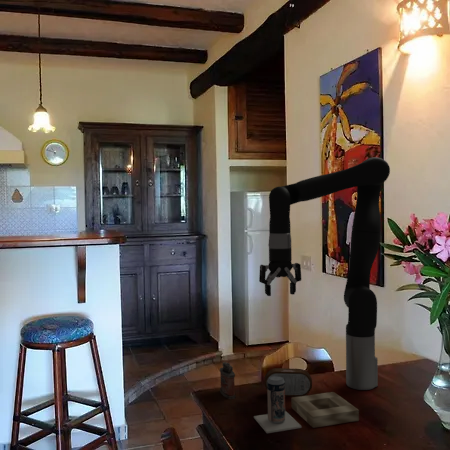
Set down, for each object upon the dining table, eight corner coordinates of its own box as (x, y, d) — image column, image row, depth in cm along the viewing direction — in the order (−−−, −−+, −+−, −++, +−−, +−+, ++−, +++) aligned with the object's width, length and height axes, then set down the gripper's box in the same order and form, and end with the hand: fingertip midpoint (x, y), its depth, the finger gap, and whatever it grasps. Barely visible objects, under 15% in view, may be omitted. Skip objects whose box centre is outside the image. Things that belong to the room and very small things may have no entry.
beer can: (273, 426, 132) (273, 382, 132) (264, 419, 137) (263, 376, 136) (288, 422, 135) (288, 379, 134) (278, 415, 139) (278, 373, 138)
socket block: (333, 401, 149) (333, 391, 149) (358, 420, 136) (358, 409, 136) (291, 407, 145) (291, 397, 145) (313, 427, 132) (313, 416, 132)
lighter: (217, 390, 159) (217, 360, 159) (227, 389, 161) (226, 359, 160) (227, 399, 152) (227, 368, 152) (237, 397, 153) (237, 366, 153)
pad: (286, 413, 142) (286, 411, 142) (301, 427, 132) (301, 426, 132) (253, 417, 139) (253, 416, 139) (266, 433, 129) (266, 431, 129)
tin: (312, 394, 156) (311, 368, 155) (312, 398, 152) (312, 371, 152) (264, 393, 157) (264, 367, 157) (264, 396, 154) (264, 370, 154)
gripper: (264, 248, 157) (264, 298, 158) (304, 246, 162) (304, 295, 162) (256, 246, 165) (256, 294, 165) (294, 245, 169) (295, 291, 169)
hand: (280, 294), depth 164 cm, fingers open, 8 cm apart
